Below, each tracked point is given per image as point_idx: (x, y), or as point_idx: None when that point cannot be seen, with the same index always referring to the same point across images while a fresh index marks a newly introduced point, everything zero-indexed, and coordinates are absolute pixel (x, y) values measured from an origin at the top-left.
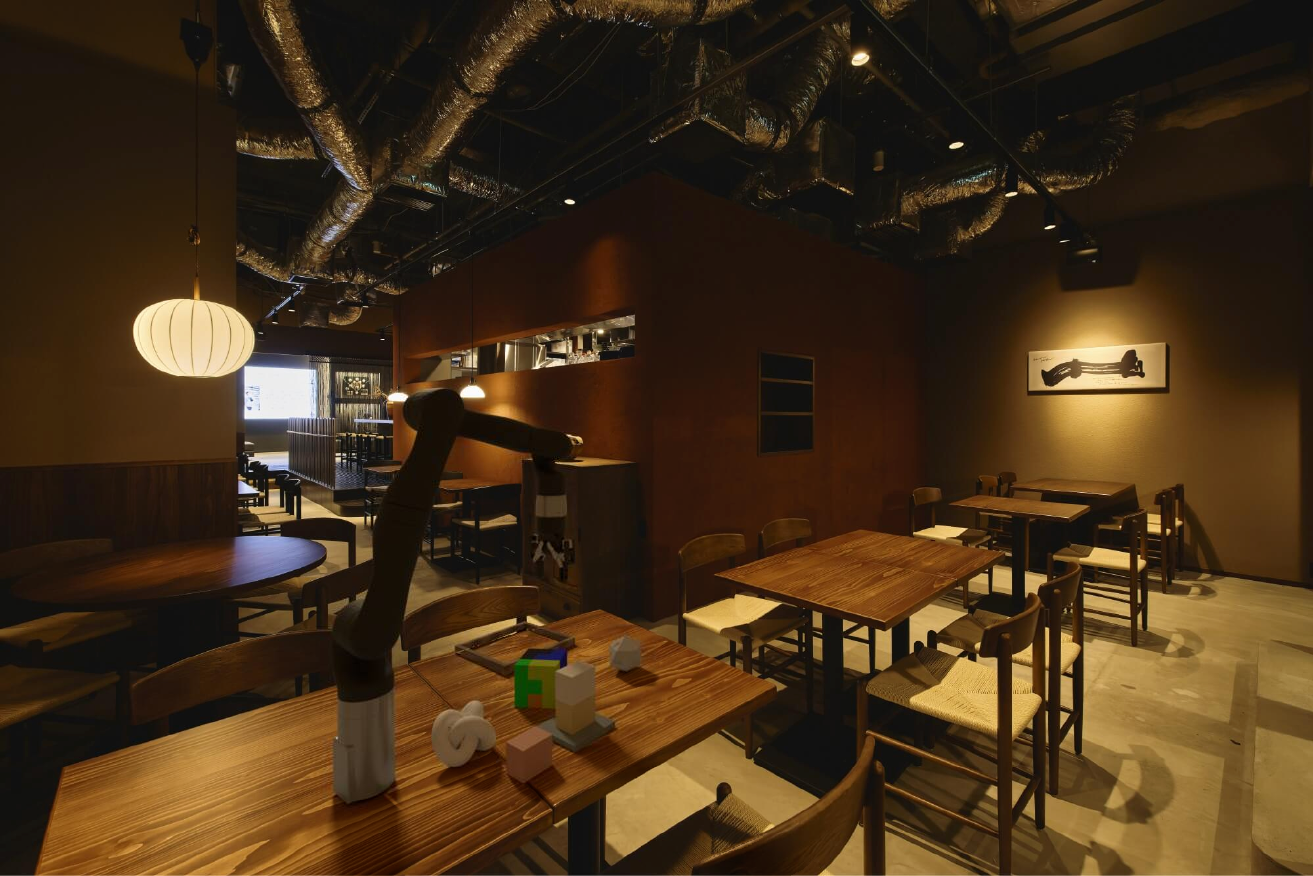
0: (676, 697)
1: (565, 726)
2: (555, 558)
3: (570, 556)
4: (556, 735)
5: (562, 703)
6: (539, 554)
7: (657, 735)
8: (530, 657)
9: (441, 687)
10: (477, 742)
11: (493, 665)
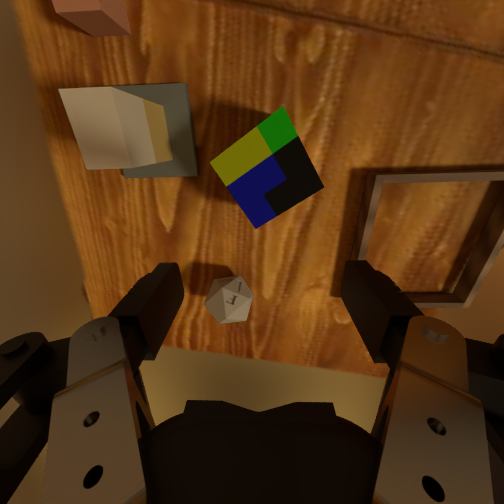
0: (141, 272)
1: None
2: (104, 370)
3: (27, 443)
4: (141, 88)
5: None
6: (394, 388)
7: (81, 195)
8: (284, 157)
9: (453, 65)
10: None
11: (406, 173)
